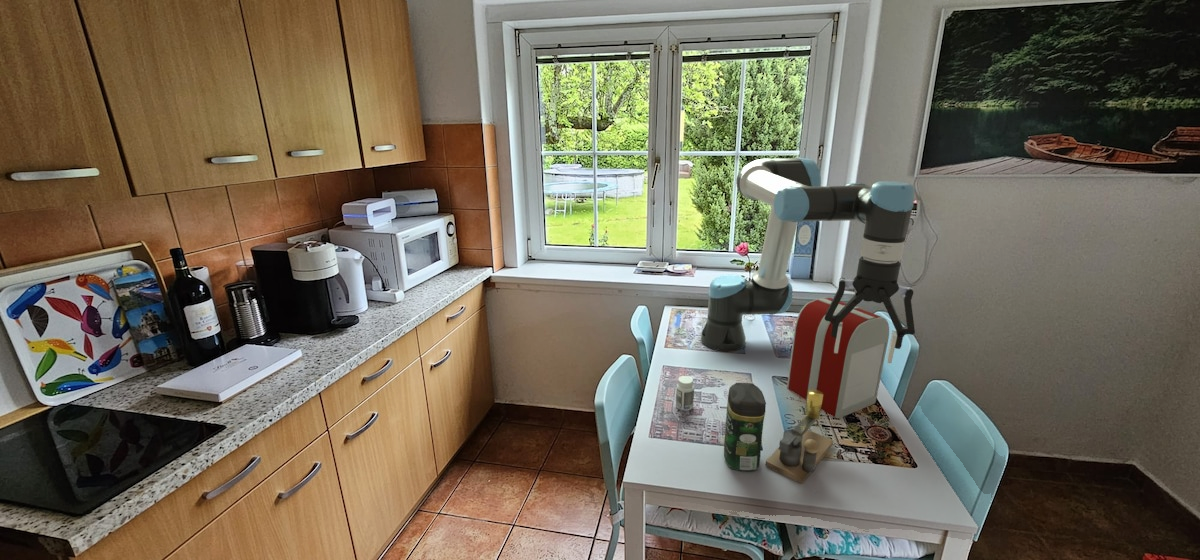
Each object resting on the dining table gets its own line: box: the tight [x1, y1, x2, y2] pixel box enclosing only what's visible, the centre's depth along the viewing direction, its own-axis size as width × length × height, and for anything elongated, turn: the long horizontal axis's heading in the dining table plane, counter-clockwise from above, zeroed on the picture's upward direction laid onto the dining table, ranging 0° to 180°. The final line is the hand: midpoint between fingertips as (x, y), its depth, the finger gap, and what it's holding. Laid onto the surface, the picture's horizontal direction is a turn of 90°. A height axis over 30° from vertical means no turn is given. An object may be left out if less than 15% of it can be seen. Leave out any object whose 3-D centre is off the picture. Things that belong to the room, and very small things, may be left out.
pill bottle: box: [675, 375, 695, 411], centre depth 133 cm, size 5×5×8 cm
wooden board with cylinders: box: [764, 429, 834, 485], centre depth 114 cm, size 10×18×9 cm, turn 136°
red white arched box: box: [786, 297, 890, 419], centre depth 135 cm, size 17×18×27 cm
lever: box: [778, 390, 823, 454], centre depth 112 cm, size 4×17×8 cm, turn 136°
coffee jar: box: [723, 382, 767, 472], centre depth 111 cm, size 10×8×19 cm
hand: (862, 355), depth 108 cm, fingers open, 10 cm apart
